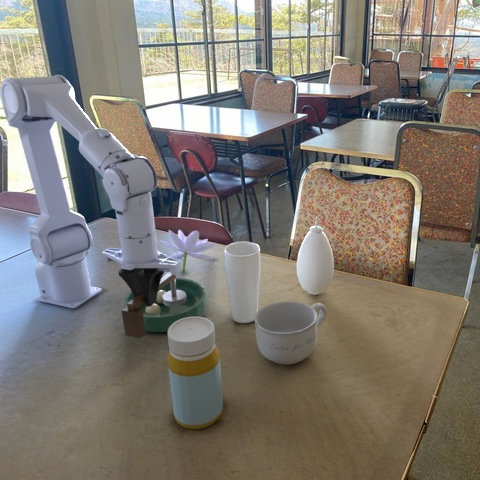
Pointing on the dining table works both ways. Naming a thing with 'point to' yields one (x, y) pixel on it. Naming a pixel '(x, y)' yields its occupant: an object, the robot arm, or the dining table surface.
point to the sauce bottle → (315, 261)
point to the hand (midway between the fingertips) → (147, 302)
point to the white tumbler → (243, 279)
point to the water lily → (188, 246)
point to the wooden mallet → (134, 314)
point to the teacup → (288, 330)
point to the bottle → (194, 372)
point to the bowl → (169, 314)
